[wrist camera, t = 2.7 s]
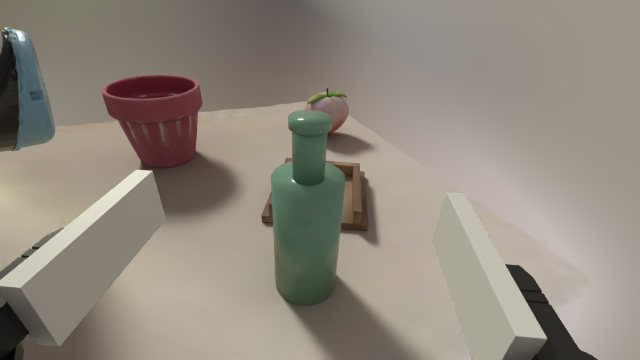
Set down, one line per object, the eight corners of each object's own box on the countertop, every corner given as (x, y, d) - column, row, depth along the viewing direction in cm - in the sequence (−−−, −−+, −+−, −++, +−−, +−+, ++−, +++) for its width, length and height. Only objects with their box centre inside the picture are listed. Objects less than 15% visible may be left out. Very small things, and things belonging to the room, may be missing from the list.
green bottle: (269, 301, 31) (259, 130, 22) (281, 255, 37) (277, 101, 27) (333, 308, 31) (351, 137, 21) (336, 260, 36) (351, 106, 27)
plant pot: (211, 170, 53) (198, 95, 46) (116, 181, 49) (88, 100, 42) (209, 137, 64) (199, 72, 58) (132, 143, 60) (112, 75, 54)
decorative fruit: (328, 123, 73) (330, 80, 68) (352, 135, 68) (357, 89, 63) (295, 132, 68) (295, 86, 63) (319, 146, 63) (321, 96, 58)
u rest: (262, 221, 42) (260, 203, 40) (281, 170, 54) (281, 154, 52) (366, 230, 41) (369, 212, 40) (363, 176, 53) (365, 161, 52)
